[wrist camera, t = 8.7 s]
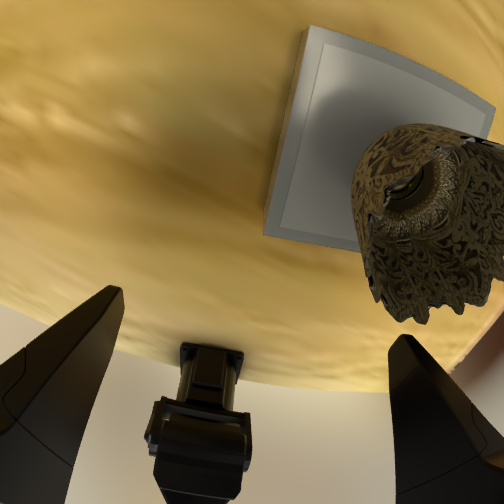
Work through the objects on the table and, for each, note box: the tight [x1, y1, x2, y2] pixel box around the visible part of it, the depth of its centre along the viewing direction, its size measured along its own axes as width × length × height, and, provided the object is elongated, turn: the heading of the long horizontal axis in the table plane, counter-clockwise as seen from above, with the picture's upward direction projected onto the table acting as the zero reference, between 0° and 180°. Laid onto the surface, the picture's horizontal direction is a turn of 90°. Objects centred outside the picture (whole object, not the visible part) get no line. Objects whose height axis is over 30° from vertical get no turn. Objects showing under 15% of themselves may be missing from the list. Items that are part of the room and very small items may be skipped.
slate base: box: [263, 25, 496, 253], centre depth 16 cm, size 12×12×3 cm
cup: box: [351, 123, 504, 325], centre depth 11 cm, size 8×7×8 cm
